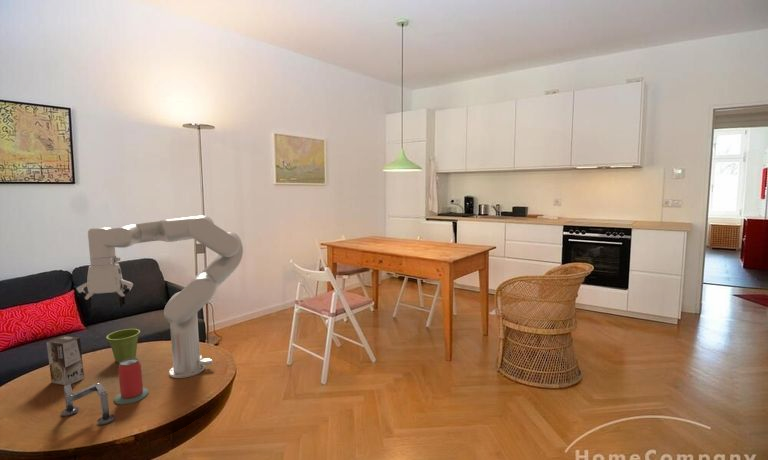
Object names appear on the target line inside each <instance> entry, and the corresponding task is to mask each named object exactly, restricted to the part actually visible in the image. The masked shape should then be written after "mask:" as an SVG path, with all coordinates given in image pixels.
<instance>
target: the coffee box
mask: <svg viewBox="0 0 768 460" xmlns="http://www.w3.org/2000/svg"><path fill="white" fill-rule="evenodd" d="M46 349H47V350H46V351H47V357H48V364H49V372H50V379H51V380H50V381H51V384H52V383H53V384H57V385H62V386H65V385H67V384H71V385H73V384H74V383H77V382H79V381H82V380H84V379H85V372H84V364H83V363H84V362H83V354H82V344H81V337H79V336H78V337H76V336H70V335H61V336H59V337H56V338H53V339H51V340H48V341H46Z"/></svg>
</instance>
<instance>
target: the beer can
mask: <svg viewBox="0 0 768 460" xmlns="http://www.w3.org/2000/svg"><path fill="white" fill-rule="evenodd" d="M117 371H118V381H119V390H120V391H119V392H120V393H121V397H122V398H124V399H130V398H134V397H137V396H139V395H140V394H141V393H142V392H143V388H144V385H143V375H142V374H143V373H142V364H141V362H140V359H138V358H137V357H135V358H130V359H126V360H123V361H122V362H120V363H119V366H118V370H117ZM120 393H119V394H120Z"/></svg>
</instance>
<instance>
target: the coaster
mask: <svg viewBox="0 0 768 460" xmlns="http://www.w3.org/2000/svg"><path fill="white" fill-rule="evenodd" d="M149 393H150V392H149V389H148V388H146V387H143V392H142V393H141V394H140V395H139V396H137V397H134V398H130V399H124V398H122V397H121V393H118V394H116V396H115V397H114V398H113V400H114V404H117V405H129V404H134V403H136V402H139V401H141V400H143V399H146V397H147V396H148V395H149Z"/></svg>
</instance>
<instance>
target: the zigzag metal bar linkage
mask: <svg viewBox="0 0 768 460" xmlns="http://www.w3.org/2000/svg"><path fill="white" fill-rule="evenodd" d="M63 392H64V401H65V402H64V403H65V409H63V410H62V411H61V413H60V414H61V416H62V417H70V416H73V415H75V414H77V413H78V412H80V408H79V407H80V406H76V405H75V406H74V402H76V401H77V400H79V399H81V398H84V397H86V396H88V395H90V394H92V393H95V392H96V394H97V395H98V396H99V398H100V407H101V408H100V409H101V417H99V418H98V419H97V420H96V421H97V425H98V426H105V425H108V424H110V423H113V422H114V421H115V419H116V416H115V415H114V414H112V413H111V414H110V408H109V407H110V406H109V397H108V391H107V390H106V389H105V387H104V385H102V383H101V382H97V383H94V384H92V385H89V386H87V387H85V388H82V389H80V390H78V391H76V392H73V389H72V384H67V385H63Z"/></svg>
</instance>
